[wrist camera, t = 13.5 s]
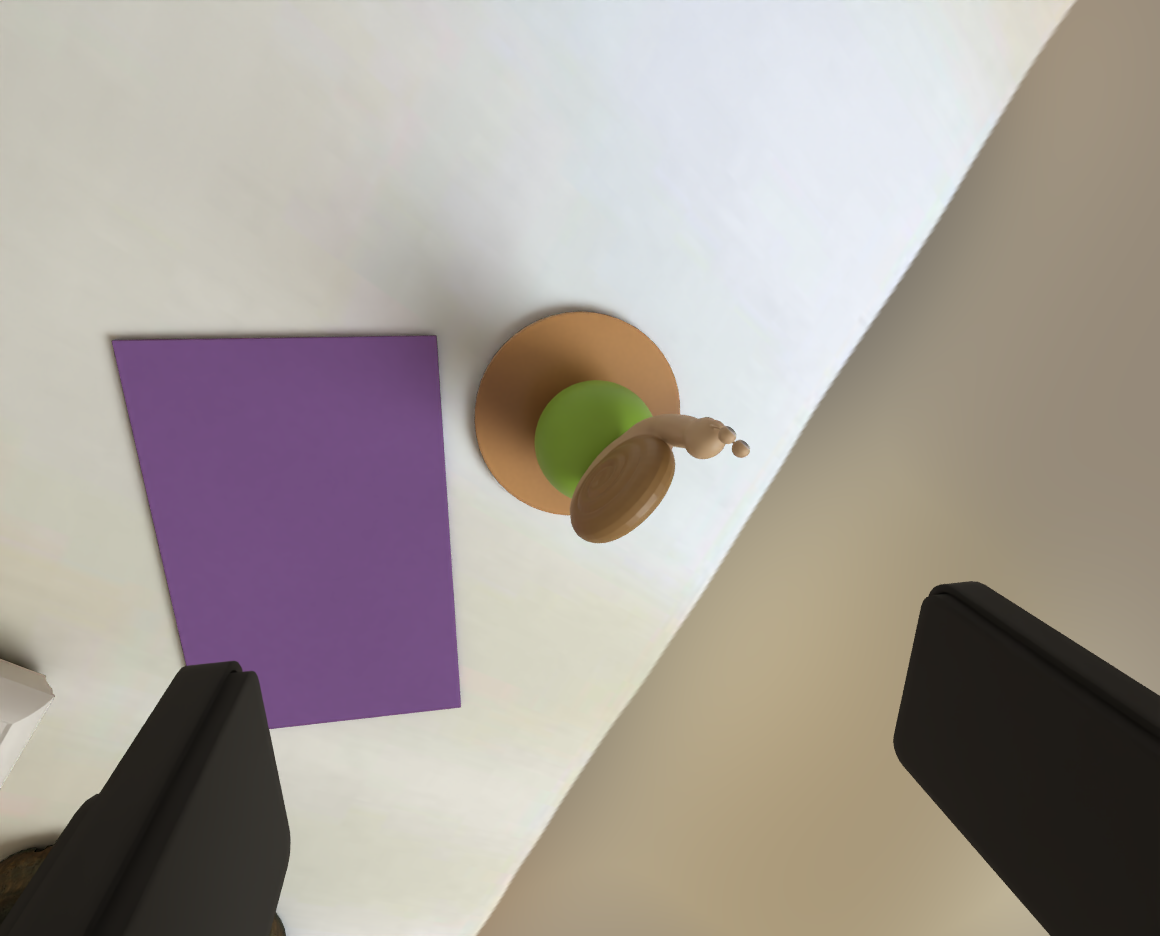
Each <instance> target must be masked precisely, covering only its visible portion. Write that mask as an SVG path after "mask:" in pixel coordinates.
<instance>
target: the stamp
mask: <svg viewBox="0 0 1160 936" xmlns="http://www.w3.org/2000/svg"><path fill="white" fill-rule="evenodd" d="M54 697H55V695H54V694H53V691H52V688H51V687H50V686H49V684H48V683H47V681H46V676H45V675H42V674H40V673H37V672H34V671H32V670H29V669H26V668H24V667H21V666H18V665H16V664H13V663H10V662H7V661H5V660H2V659H0V789H1V787H2V785H3V784H4V782H5V780H6V779H7V777H8V775H9V773H10V772H11V770H12V768H13V767H14V765H15V763H16V762H17V760H18V758H19V756H20V755H21V753H22V751H23V750H24V748H25V746H26V745H27V743H28V741H29V739H30V738H31V736H32V734H33V733H34V731H35V729H36V728H37V726H38V724H39V722H40V721H41V719H42V717H43V716H44V714H45V712H46V711H47V709H48V707H49V705H50V704H51V702H52V700H53V699H54Z"/></svg>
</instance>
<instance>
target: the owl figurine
mask: <svg viewBox="0 0 1160 936" xmlns="http://www.w3.org/2000/svg"><path fill="white" fill-rule="evenodd" d="M53 846H54V845H53ZM53 846H48V847H47V848H46V849H44V850H43V851H40V852H34V851H35V850H36V849H37V848H30V849H27V850H24V851H23V850H22V851H20V852H18V853H16V854H14V855H10V856H9V857H8V858H6V859H5V860H2V861H1V862H0V925H1V924H2V922H3V921H4V919H5V918H6V916H7V915H8V913H9V912H10V910H11V909H12V907H13V906H14V904H15V903H16V901H17V900H18V898H19V897H20V895H21V894H22V892H23V891H24V889H25V888H26V886H27V885H28V883H29V882H30V880H31V879H32V877H33V876H34V874H35V873H36V871H37V870H38V868H39V867H40V865H41V864H42V862H43V861H44V859H45V858H46V856H47V855H48V853H49V852H50V850H51V849H52V847H53ZM269 936H286V934H285V929H284V926H283V924H282V922H281V920H280V918H279V917H278V915H277V914H276V913H275V916H274V919H273V923H272V927H271V931H270V934H269Z"/></svg>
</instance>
